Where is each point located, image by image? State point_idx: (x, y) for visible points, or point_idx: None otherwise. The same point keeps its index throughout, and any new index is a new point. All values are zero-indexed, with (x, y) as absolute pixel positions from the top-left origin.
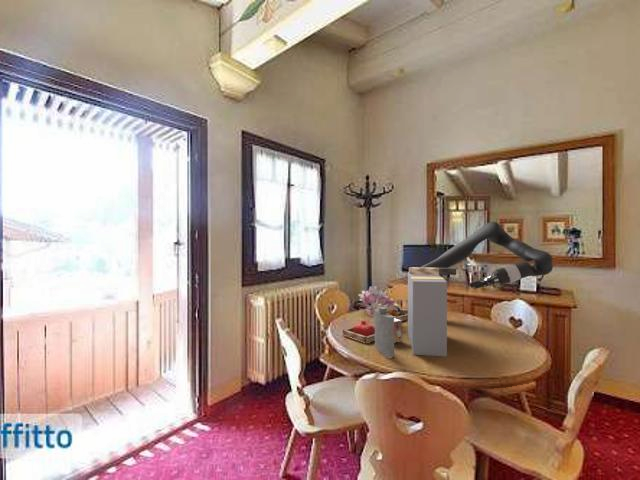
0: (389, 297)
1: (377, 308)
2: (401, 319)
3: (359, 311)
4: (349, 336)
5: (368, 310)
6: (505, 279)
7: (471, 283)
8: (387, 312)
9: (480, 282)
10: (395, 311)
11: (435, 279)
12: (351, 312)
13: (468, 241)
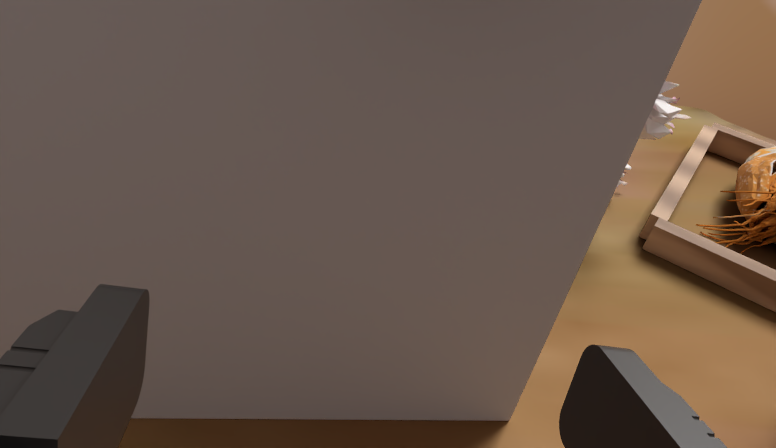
0: (671, 84)
1: (754, 153)
2: (682, 255)
3: (740, 131)
4: None
5: (711, 133)
6: None
7: (608, 376)
8: (737, 193)
9: (9, 409)
10: (767, 218)
11: None
12: (699, 110)
13: None
